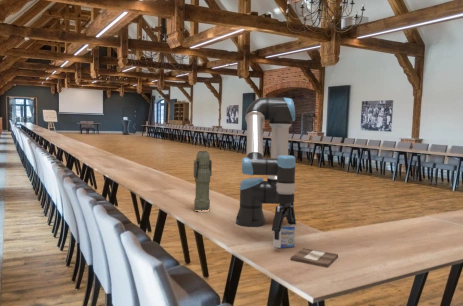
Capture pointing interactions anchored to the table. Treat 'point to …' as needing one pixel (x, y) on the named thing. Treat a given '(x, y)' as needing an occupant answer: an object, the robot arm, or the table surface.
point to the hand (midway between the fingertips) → (283, 243)
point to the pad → (314, 257)
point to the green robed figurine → (202, 180)
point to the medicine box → (287, 236)
